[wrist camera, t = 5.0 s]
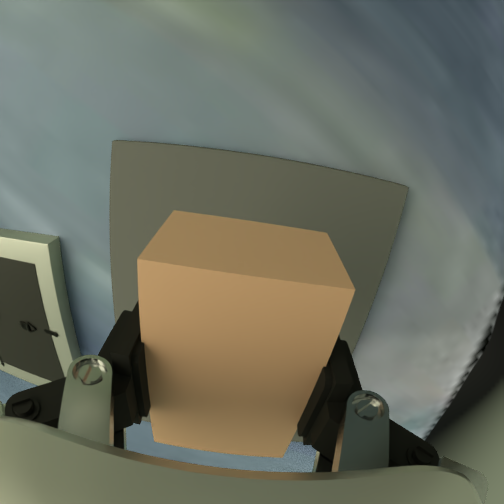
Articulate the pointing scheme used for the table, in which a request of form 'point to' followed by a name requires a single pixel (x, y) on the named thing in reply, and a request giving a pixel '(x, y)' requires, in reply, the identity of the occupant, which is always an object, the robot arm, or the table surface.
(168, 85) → the table surface
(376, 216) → the mat
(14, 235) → the picture frame
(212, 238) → the tall tan box
